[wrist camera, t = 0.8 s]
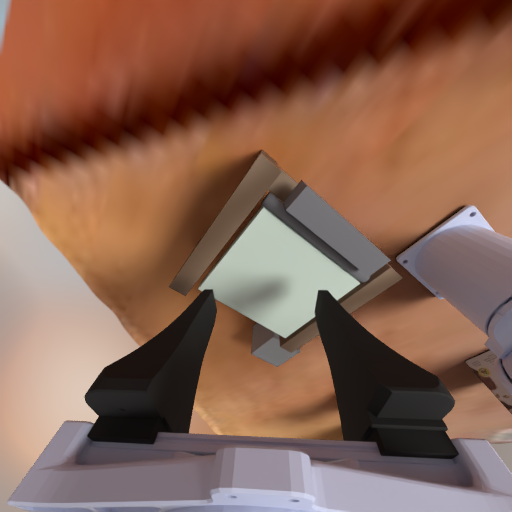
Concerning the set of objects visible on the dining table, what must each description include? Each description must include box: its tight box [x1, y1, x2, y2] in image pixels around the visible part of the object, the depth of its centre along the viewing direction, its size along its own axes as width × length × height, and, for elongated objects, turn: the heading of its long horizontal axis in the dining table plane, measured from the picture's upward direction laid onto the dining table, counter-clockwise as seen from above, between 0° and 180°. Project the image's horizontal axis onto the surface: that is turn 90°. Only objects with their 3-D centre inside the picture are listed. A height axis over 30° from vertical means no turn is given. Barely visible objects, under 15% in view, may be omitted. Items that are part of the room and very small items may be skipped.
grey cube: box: [251, 323, 300, 367], centre depth 27 cm, size 4×4×4 cm
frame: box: [169, 150, 403, 353], centre depth 19 cm, size 14×13×7 cm
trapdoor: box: [198, 180, 391, 338], centre depth 16 cm, size 10×12×2 cm
